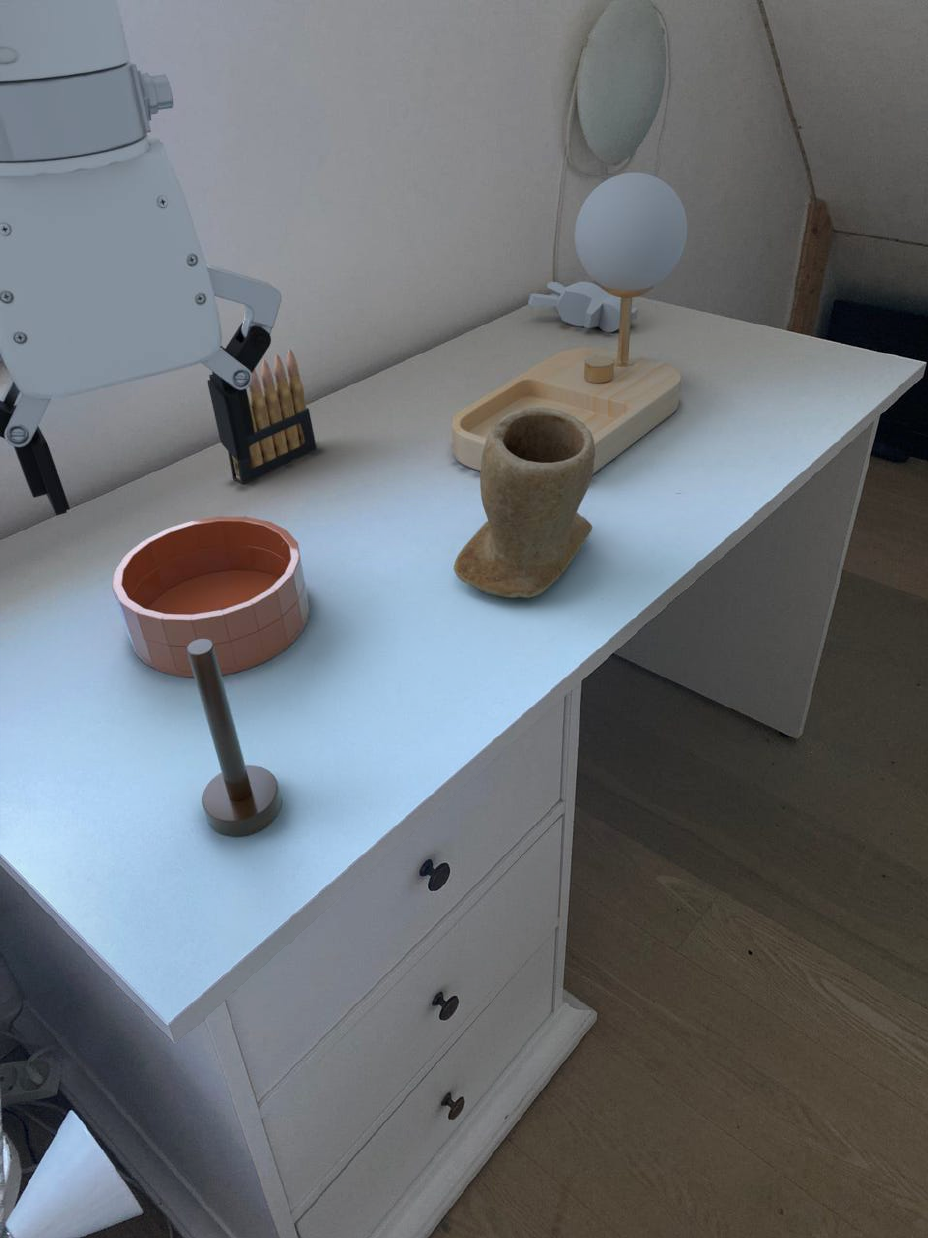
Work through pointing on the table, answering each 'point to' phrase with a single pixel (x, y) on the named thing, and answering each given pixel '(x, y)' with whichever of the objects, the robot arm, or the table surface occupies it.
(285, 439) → the ammunition clip
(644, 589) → the table surface
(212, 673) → the brown disc-based tamper
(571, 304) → the bunny figurine
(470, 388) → the table surface
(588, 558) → the table surface
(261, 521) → the bowl
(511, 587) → the stone cup
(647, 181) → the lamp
